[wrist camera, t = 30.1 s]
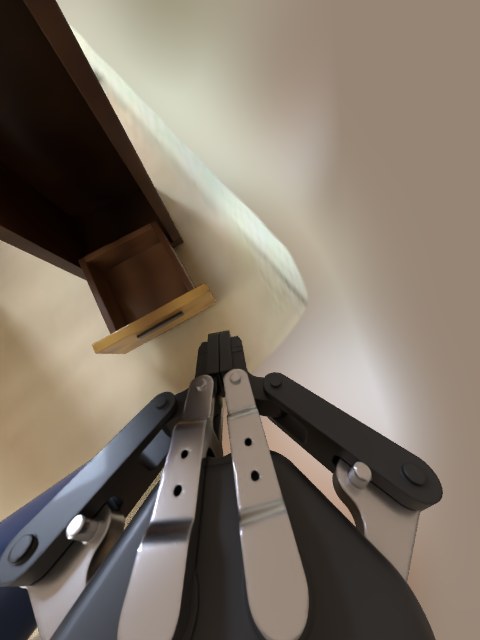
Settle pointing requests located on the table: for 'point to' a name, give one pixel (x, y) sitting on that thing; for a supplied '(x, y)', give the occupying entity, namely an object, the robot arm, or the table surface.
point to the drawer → (141, 289)
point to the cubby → (63, 146)
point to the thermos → (14, 602)
